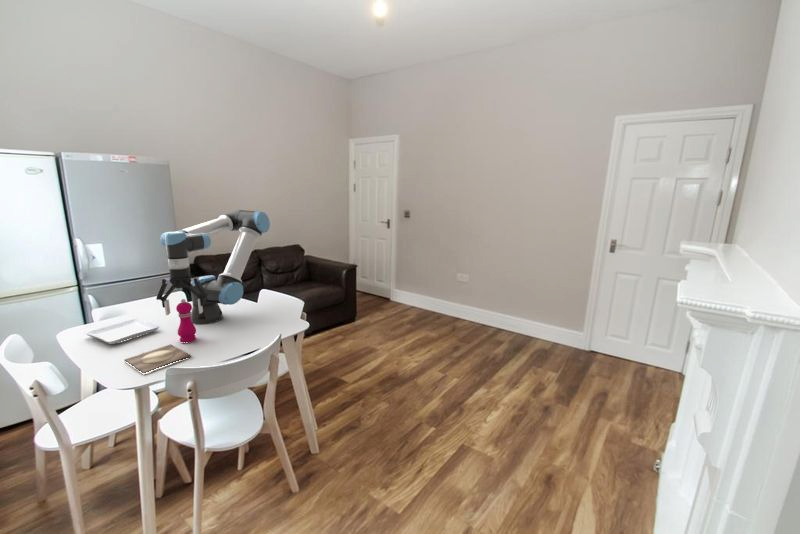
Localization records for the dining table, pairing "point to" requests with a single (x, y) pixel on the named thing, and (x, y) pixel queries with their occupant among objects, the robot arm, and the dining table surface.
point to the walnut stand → (157, 358)
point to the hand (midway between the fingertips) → (184, 313)
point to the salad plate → (118, 325)
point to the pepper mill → (185, 322)
